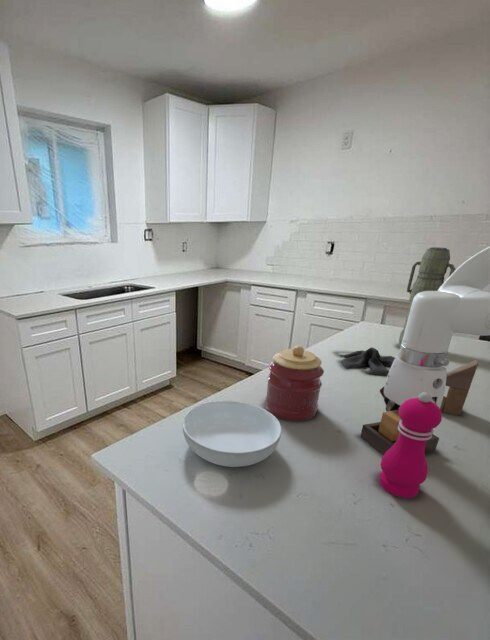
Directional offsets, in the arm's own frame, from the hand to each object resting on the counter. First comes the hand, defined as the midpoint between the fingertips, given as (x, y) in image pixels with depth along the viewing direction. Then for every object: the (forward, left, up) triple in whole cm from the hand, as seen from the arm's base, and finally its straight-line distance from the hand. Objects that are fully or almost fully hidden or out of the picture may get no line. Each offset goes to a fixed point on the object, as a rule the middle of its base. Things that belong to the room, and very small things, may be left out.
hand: (399, 432), depth 78 cm
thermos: (-51, -47, -3) cm, 70 cm away
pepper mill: (+10, +11, -3) cm, 15 cm away
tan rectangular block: (0, 0, 0) cm, 0 cm away
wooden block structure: (-22, -11, -3) cm, 25 cm away
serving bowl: (+36, -8, -3) cm, 37 cm away
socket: (0, 0, -3) cm, 3 cm away
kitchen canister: (+14, -20, -3) cm, 25 cm away
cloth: (-26, -40, -3) cm, 48 cm away
